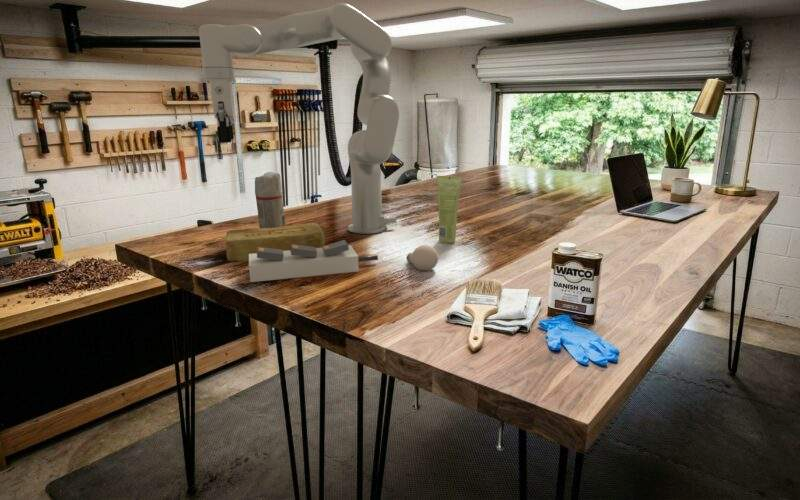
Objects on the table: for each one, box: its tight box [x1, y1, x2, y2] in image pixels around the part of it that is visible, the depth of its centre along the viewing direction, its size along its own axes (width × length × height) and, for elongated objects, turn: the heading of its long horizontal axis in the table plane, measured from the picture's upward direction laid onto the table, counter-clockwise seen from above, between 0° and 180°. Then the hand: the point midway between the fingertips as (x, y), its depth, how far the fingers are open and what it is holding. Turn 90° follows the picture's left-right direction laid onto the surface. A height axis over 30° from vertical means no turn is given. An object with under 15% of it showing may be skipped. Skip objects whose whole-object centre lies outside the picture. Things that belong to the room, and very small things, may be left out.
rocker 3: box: [322, 239, 349, 257], centre depth 127 cm, size 6×4×2 cm, turn 105°
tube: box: [435, 175, 463, 244], centre depth 149 cm, size 6×5×20 cm
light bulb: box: [406, 244, 439, 272], centre depth 128 cm, size 7×7×11 cm
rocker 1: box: [257, 247, 284, 261], centre depth 123 cm, size 6×4×2 cm, turn 107°
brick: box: [225, 222, 326, 263], centre depth 143 cm, size 13×26×7 cm, turn 108°
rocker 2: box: [290, 244, 317, 258], centre depth 125 cm, size 6×4×2 cm, turn 106°
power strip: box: [248, 244, 379, 283], centre depth 128 cm, size 32×10×4 cm, turn 106°
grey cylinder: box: [254, 171, 286, 229], centre depth 155 cm, size 8×8×20 cm
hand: (226, 140), depth 140 cm, fingers open, 9 cm apart
